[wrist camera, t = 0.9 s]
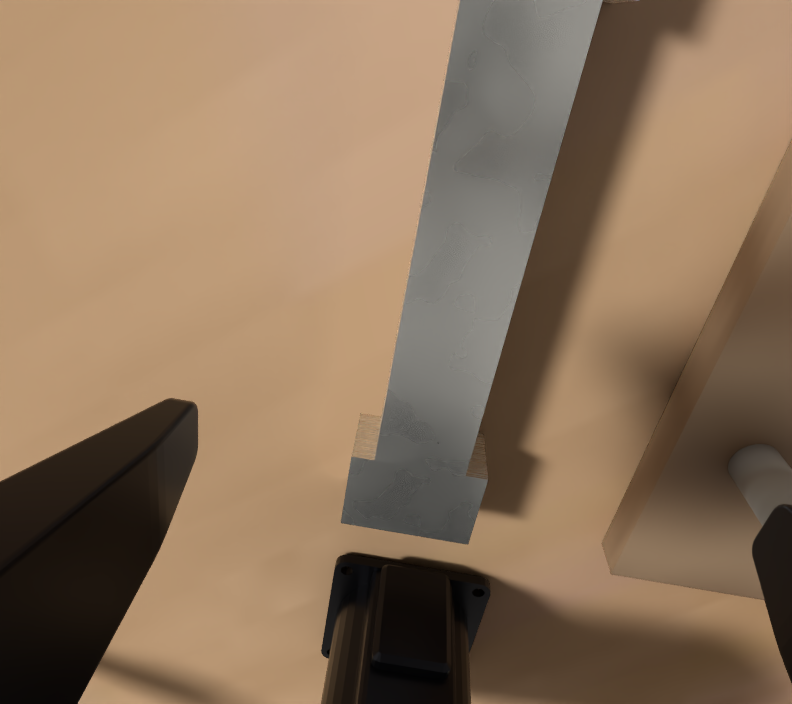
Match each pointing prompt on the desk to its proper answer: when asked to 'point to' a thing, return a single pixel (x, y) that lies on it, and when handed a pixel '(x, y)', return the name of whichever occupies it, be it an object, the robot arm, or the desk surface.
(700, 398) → the peg board
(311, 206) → the desk surface
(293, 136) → the desk surface
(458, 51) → the grey i-beam piece
